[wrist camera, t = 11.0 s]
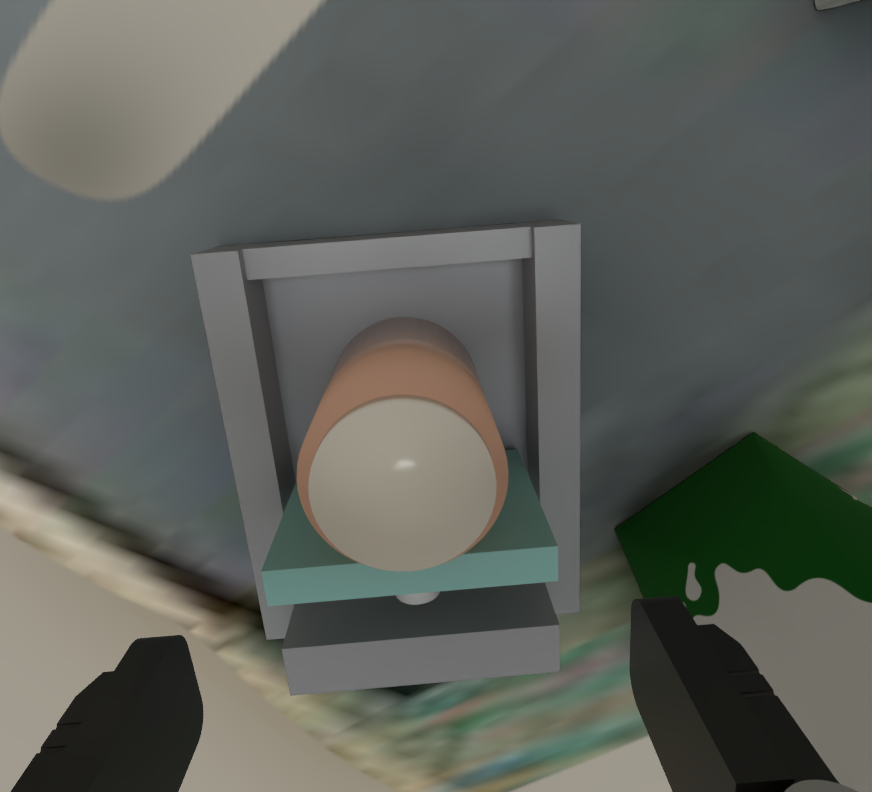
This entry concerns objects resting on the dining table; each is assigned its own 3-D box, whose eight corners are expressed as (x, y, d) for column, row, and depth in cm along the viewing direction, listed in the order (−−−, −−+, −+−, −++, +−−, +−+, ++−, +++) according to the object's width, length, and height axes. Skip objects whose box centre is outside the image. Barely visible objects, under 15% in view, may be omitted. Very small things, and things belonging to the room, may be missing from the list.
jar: (473, 310, 23) (507, 377, 15) (480, 447, 25) (515, 574, 17) (323, 323, 23) (275, 397, 15) (342, 460, 25) (309, 593, 16)
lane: (559, 219, 22) (609, 229, 17) (561, 568, 27) (601, 667, 22) (218, 246, 22) (153, 265, 17) (281, 592, 27) (247, 699, 21)
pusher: (517, 449, 24) (558, 546, 18) (520, 520, 25) (558, 636, 19) (301, 467, 24) (260, 571, 18) (312, 537, 25) (278, 661, 19)
